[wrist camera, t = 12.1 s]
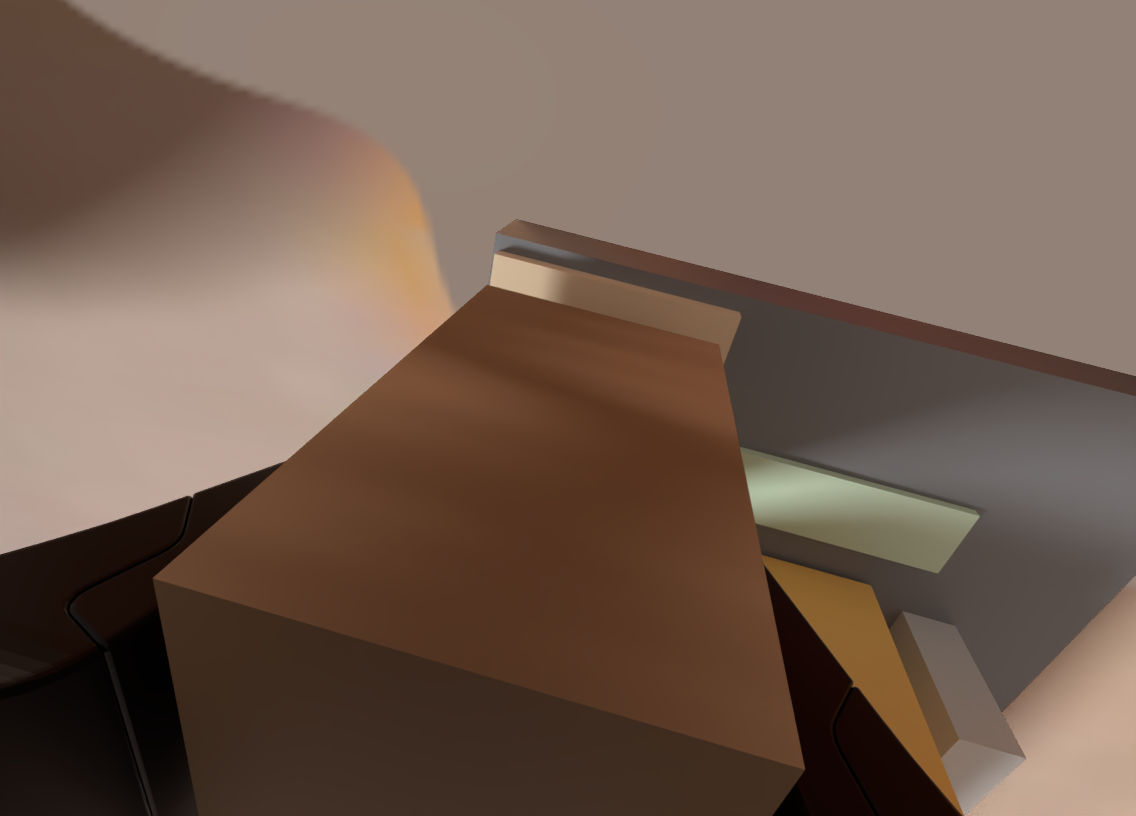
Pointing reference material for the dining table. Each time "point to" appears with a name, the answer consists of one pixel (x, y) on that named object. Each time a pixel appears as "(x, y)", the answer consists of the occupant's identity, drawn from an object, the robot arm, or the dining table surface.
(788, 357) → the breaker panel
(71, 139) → the dining table surface
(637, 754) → the walnut block
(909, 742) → the knob
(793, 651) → the robot arm
